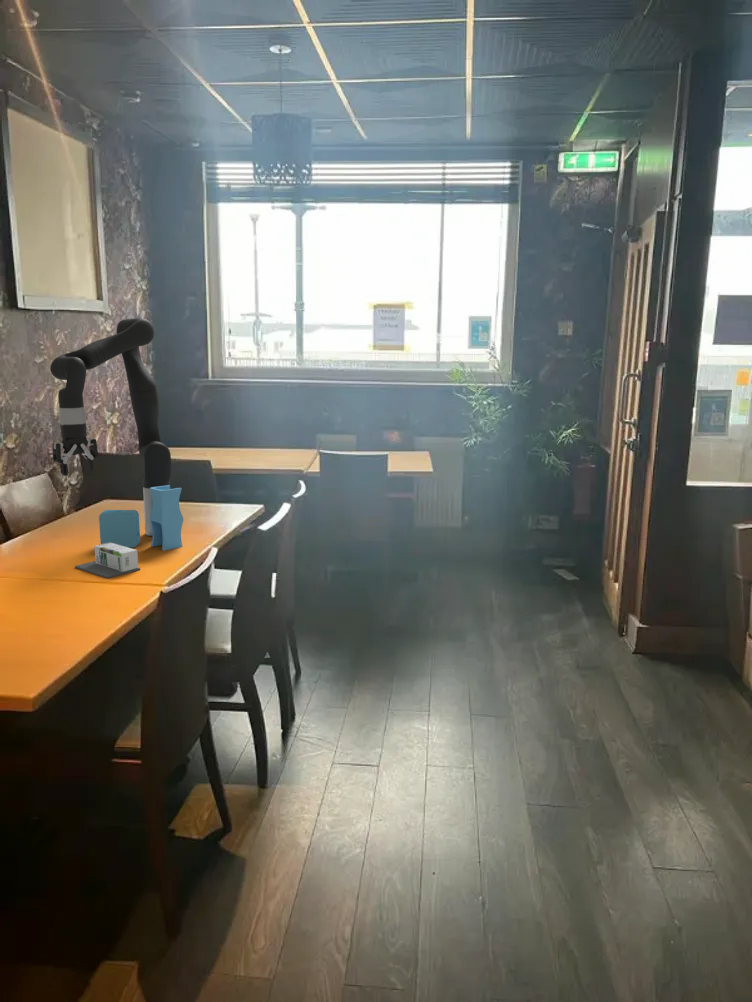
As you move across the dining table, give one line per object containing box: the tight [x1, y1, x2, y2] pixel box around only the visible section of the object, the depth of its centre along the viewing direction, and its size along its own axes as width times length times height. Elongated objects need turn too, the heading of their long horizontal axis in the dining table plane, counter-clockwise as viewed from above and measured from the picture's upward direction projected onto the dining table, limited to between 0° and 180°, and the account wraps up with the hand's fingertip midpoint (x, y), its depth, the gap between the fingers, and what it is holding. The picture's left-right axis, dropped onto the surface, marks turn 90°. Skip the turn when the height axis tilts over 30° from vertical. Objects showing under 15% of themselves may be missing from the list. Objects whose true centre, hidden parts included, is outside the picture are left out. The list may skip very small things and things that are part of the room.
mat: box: [74, 560, 141, 579], centre depth 221 cm, size 17×11×1 cm, turn 53°
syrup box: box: [94, 542, 139, 572], centre depth 221 cm, size 6×6×14 cm
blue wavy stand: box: [150, 484, 184, 551], centre depth 245 cm, size 8×8×20 cm
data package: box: [98, 509, 141, 549], centre depth 246 cm, size 12×4×12 cm, turn 96°
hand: (77, 473), depth 232 cm, fingers open, 8 cm apart
